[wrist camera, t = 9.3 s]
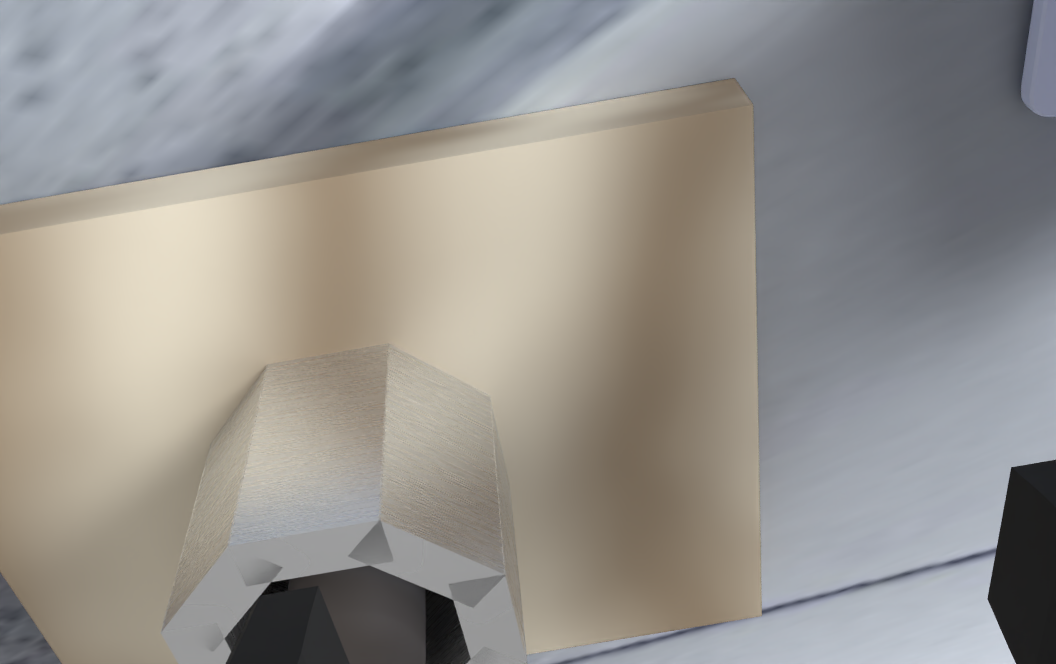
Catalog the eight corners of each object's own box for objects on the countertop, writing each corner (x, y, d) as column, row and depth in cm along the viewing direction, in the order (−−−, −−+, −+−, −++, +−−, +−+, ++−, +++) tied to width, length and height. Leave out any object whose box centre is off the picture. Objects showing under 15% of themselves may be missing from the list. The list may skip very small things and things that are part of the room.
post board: (734, 78, 17) (848, 241, 13) (748, 577, 25) (823, 795, 20) (-168, 234, 18) (-384, 450, 13) (115, 681, 25) (44, 921, 20)
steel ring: (475, 328, 18) (487, 501, 15) (521, 534, 22) (540, 719, 18) (181, 379, 18) (120, 563, 15) (270, 577, 22) (238, 769, 18)
